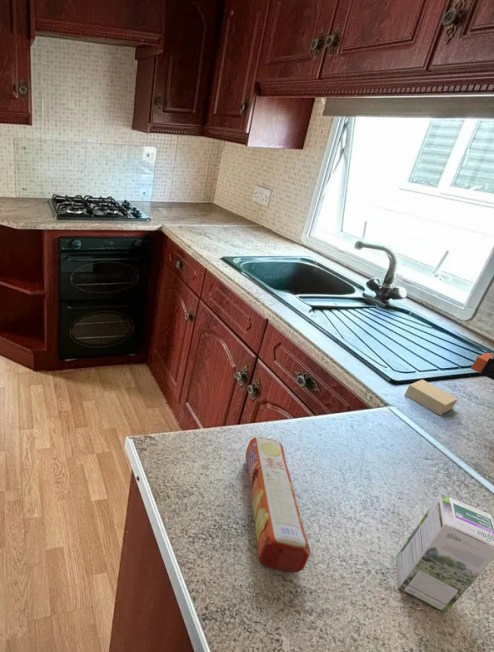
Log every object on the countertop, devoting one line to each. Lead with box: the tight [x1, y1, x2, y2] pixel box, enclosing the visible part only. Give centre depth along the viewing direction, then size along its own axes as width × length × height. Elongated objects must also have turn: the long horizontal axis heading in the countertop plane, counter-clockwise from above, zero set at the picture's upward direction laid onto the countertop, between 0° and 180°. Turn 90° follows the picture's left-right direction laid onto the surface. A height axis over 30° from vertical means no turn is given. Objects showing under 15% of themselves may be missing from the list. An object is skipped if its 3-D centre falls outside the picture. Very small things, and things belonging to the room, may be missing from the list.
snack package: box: [245, 436, 311, 573], centre depth 64 cm, size 21×7×7 cm, turn 169°
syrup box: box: [396, 493, 494, 614], centre depth 54 cm, size 6×6×14 cm
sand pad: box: [404, 379, 459, 416], centre depth 97 cm, size 8×6×3 cm
